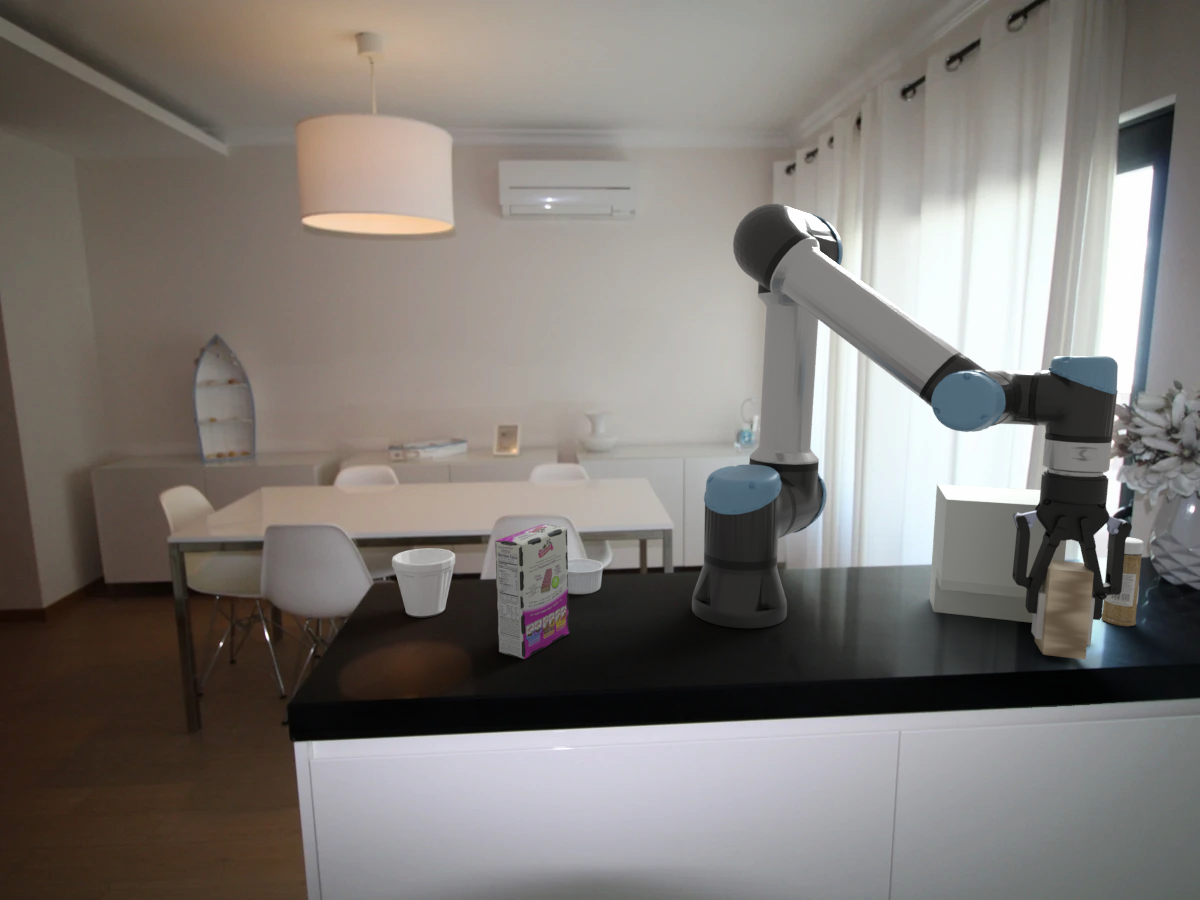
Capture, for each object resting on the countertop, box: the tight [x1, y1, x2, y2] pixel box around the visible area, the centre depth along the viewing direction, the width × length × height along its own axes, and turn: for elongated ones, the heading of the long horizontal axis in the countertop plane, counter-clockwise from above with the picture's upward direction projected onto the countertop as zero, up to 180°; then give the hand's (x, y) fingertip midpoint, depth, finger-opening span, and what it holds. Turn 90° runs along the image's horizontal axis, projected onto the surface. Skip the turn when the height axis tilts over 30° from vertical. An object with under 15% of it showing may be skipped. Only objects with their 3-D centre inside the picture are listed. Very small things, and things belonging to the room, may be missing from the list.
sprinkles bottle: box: [1101, 536, 1145, 627], centre depth 113 cm, size 5×5×14 cm
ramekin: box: [568, 557, 605, 595], centre depth 130 cm, size 9×9×4 cm
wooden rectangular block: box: [1034, 560, 1094, 660], centre depth 104 cm, size 5×15×12 cm, turn 161°
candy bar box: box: [494, 523, 570, 660], centre depth 104 cm, size 11×5×16 cm, turn 148°
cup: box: [391, 547, 456, 619], centre depth 117 cm, size 10×10×9 cm
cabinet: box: [929, 483, 1067, 623], centre depth 114 cm, size 16×14×20 cm
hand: (1060, 637), depth 100 cm, fingers closed on wooden rectangular block, 5 cm apart
